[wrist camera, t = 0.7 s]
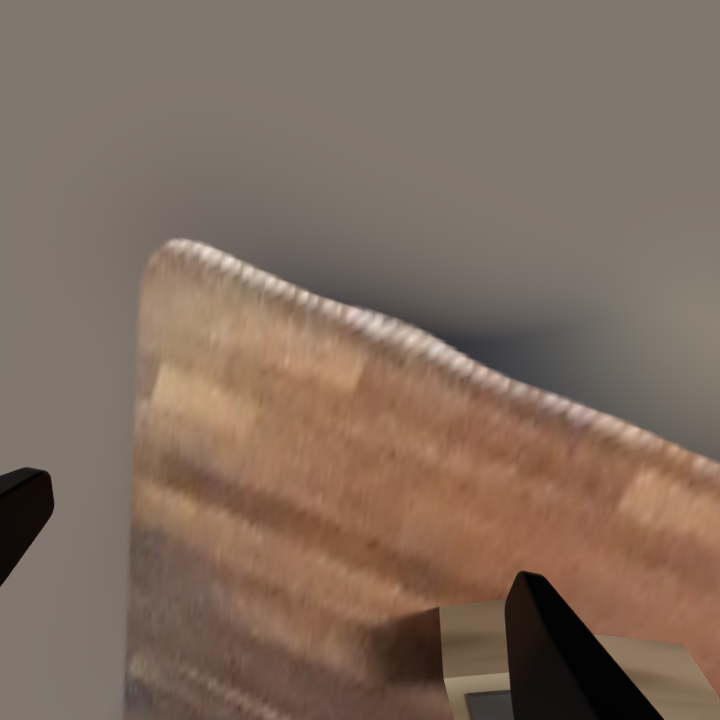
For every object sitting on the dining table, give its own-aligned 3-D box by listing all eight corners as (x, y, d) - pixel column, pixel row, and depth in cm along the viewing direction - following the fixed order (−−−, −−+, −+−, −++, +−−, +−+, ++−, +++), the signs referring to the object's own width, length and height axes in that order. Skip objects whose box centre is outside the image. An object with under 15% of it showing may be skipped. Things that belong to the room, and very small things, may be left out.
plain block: (667, 709, 25) (719, 804, 21) (582, 698, 26) (616, 789, 21) (681, 642, 24) (740, 728, 20) (593, 633, 24) (631, 714, 20)
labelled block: (534, 663, 25) (559, 752, 21) (454, 670, 26) (463, 757, 22) (520, 596, 25) (543, 673, 20) (439, 605, 25) (443, 682, 21)
